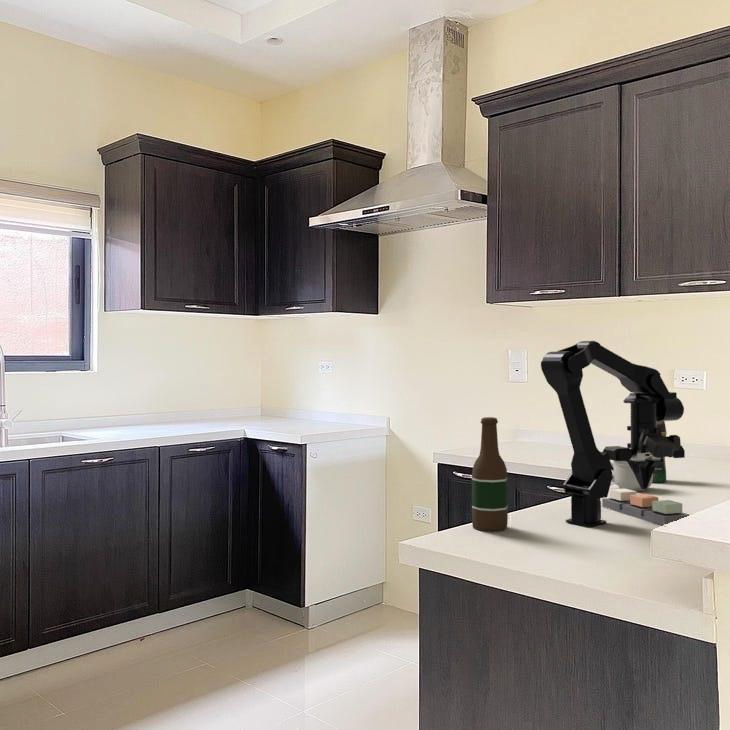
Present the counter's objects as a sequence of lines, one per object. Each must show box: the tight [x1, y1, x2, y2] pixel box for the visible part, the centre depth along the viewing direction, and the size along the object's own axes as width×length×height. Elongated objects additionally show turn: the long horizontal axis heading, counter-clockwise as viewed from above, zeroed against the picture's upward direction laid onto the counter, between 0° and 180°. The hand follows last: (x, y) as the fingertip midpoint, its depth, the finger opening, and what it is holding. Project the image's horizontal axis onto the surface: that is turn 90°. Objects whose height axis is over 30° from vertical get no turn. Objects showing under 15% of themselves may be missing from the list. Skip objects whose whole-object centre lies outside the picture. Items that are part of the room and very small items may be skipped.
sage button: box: [652, 499, 683, 514], centre depth 166 cm, size 4×4×2 cm
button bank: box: [601, 497, 690, 526], centre depth 173 cm, size 23×7×2 cm, turn 16°
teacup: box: [610, 460, 653, 492], centre depth 208 cm, size 14×11×8 cm
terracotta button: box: [630, 493, 659, 507], centre depth 173 cm, size 4×4×2 cm
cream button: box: [609, 488, 638, 501], centre depth 181 cm, size 4×4×2 cm
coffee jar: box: [652, 421, 668, 484], centre depth 221 cm, size 10×8×19 cm
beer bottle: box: [471, 416, 509, 533], centre depth 161 cm, size 8×8×24 cm
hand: (643, 489), depth 173 cm, fingers closed
